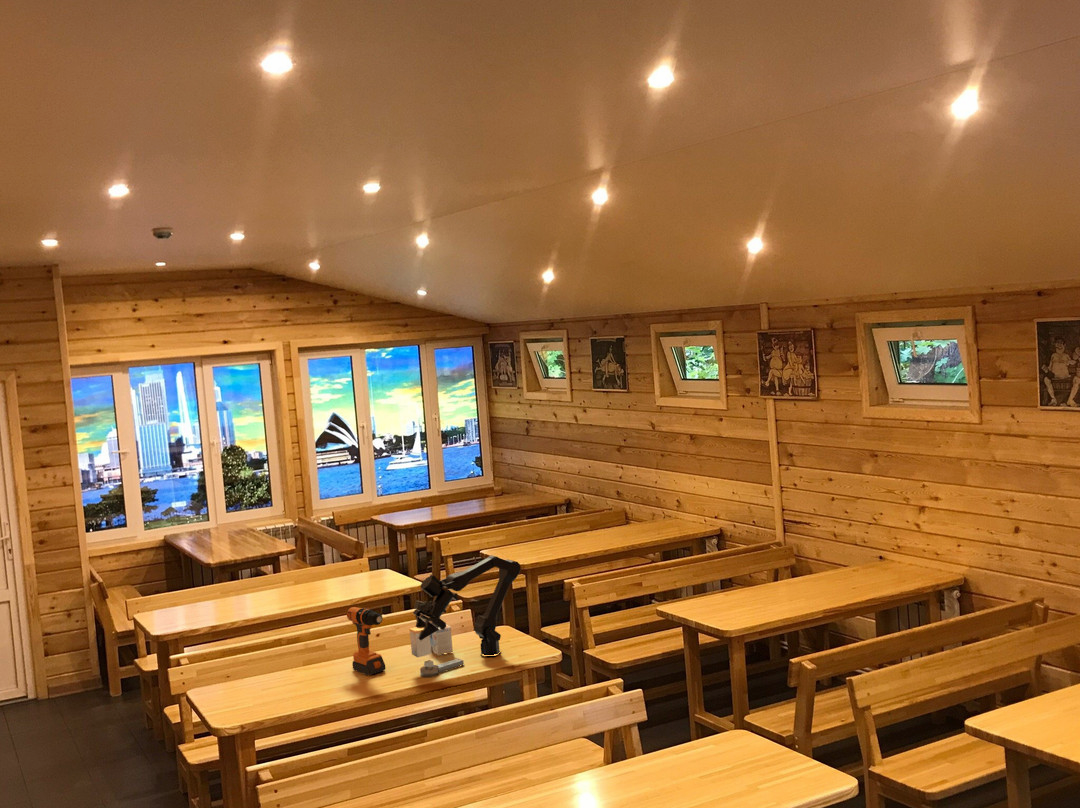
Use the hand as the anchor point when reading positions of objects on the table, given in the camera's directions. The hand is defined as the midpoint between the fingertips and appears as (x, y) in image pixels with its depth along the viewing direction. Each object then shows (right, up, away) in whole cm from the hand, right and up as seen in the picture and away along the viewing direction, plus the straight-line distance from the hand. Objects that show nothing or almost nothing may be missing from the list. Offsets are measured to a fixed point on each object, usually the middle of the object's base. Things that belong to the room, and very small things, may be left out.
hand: (416, 638), depth 390 cm
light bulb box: (+7, -12, +27) cm, 30 cm away
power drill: (-18, -15, +7) cm, 24 cm away
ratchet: (+9, -13, +1) cm, 16 cm away
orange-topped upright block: (+2, -6, +1) cm, 7 cm away
